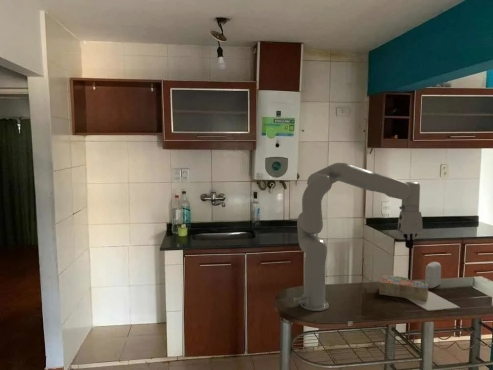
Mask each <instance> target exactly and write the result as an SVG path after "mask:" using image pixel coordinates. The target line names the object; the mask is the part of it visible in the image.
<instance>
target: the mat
mask: <svg viewBox="0 0 493 370" xmlns="http://www.w3.org/2000/svg"><path fill="white" fill-rule="evenodd" d="M406 300H409V301H410V302H412V303H414V304H416V305H417V306H419V307H420V308H422V309H424V310H425V311H427V312H432V311H433V312H434V311H444V309H445V310H453V309H460V308H461V307H460V306H458V305H457V304H455V303H453V302H451V301H448V300H447V299H445V298H444V297H441V296H439V295H437V294H436V293H434V292H432V291H429V290H428V298H427V301H423V300H415V299H409V298H406Z"/></svg>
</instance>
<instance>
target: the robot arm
mask: <svg viewBox="0 0 493 370" xmlns="http://www.w3.org/2000/svg"><path fill="white" fill-rule="evenodd" d="M337 182H341V183H344V184H347V185H349V186H353V187H356V188H359V189H363V190H366V191H369V192H376V193H380V194H384V195H386V196H387V197H389V198H392V199H399V200H401V205H400V206H398V207H399V210H400V212H399V215H398V222H397V231H398V236H400V237H403V239H404V240H405V243H404V245H405V246H404V247H405V248H407V249H413V248H414V240H415V238H416V237H417V236H420V235H421V234H422V233H423V226H424V225H423V216H422V211H420V200H421V198H420V197H421V185H420V183H419V182H417V181H401V180H400V179H399V180H398V179H395V178H392V177H390V176H385V175H382V174H379V173H376V172H373V171H371V170H368V169H365V168H361V167H358V166H356V165H353V164H350V163H347V162H346V163H345V162H335V163H333V164H330V165H328V166H326V167H324V168H322V169H320V170H318V171H315V172H313V173H311V174H310V175H309V176H308V178H307V180H306V184H307V186H306V188H305V190H304V192H303V194H302V198H301V208H302V210H301V211H302V212H301V213H299V215H298V217H297V220H296V221H297V222H296V226H297V239H298V246H299V248H300V250H301V251H302V252H303V253H304V255H305V256H304V263H303V294H301V296H299V297H293V303H298V304H300V307H301V308H302V309H304V310H308V311H312V312H322V311H325V310H328V308H329V306H330V305H329V302H327V300H326V261H327V254H328V247H327V244H326V243H325V241H324V240H323V239H322V238H320V237H319V236H318V235H319V233H321V232H322V230H323V227H324V221H323V211H322V210H323V209H322V202H323V198H324V196H325V195H326V194H328V192H330V190H331V188H332V186H333V184H334V183H337Z"/></svg>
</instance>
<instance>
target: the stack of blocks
mask: <svg viewBox="0 0 493 370" xmlns="http://www.w3.org/2000/svg"><path fill="white" fill-rule="evenodd" d="M378 284H379V288H378V289H379V290H378V294H379V295H382V296H383V295H384V296H388V297H389V296H390V297H398V298H404V299H407V298H409V299H415V300H423V301H427V298H428V291H429V288H428V283H425V281H419V280H410V278H409V277H403V276H398V275H397V276H396V275H389V274H382V276H381V278H380V280H379V283H378Z"/></svg>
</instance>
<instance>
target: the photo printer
mask: <svg viewBox="0 0 493 370" xmlns="http://www.w3.org/2000/svg"><path fill="white" fill-rule="evenodd" d="M424 276H425V278H424V279H425V280H424V282H425V283H428V289H432V288H435V287H439V286H440V285H441V282H442V278H441V277H442V265H441V263H440V262H438V261H432V262H429V263H428V264H427V265H426V266H425V274H424Z"/></svg>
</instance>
